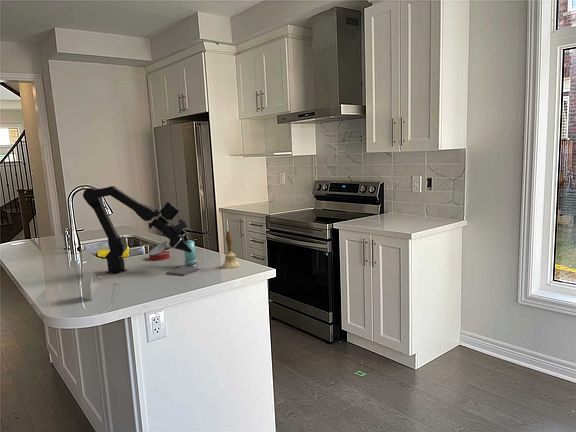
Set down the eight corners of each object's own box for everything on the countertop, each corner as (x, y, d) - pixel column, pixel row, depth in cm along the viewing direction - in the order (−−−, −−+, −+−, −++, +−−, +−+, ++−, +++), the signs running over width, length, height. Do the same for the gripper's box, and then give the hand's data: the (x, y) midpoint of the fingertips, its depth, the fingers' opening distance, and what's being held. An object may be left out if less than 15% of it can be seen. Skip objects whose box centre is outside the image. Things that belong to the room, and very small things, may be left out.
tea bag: (91, 300, 159) (88, 273, 158) (82, 297, 163) (79, 271, 162) (101, 297, 162) (98, 271, 161) (92, 295, 166) (89, 269, 165)
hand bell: (237, 268, 195) (234, 232, 193) (219, 268, 196) (216, 233, 194) (242, 263, 203) (240, 229, 201) (225, 263, 204) (223, 229, 202)
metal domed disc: (191, 268, 200) (191, 263, 200) (180, 267, 203) (180, 262, 203) (200, 264, 206) (200, 260, 205) (190, 263, 209) (189, 259, 208)
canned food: (167, 268, 222) (165, 253, 216) (147, 267, 222) (144, 251, 216) (173, 253, 231) (171, 238, 225) (154, 252, 231) (151, 237, 225)
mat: (183, 275, 187) (183, 273, 187) (166, 273, 192) (165, 272, 192) (199, 269, 196) (199, 268, 196) (181, 268, 200) (181, 266, 200)
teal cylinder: (191, 263, 200) (189, 242, 199) (181, 262, 203) (179, 241, 202) (199, 260, 205) (197, 240, 204) (189, 259, 208) (188, 239, 206)
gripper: (174, 217, 191) (202, 240, 194) (179, 212, 210) (205, 233, 212) (157, 236, 192) (185, 259, 194) (164, 229, 210) (189, 250, 213)
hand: (192, 249), depth 203 cm, fingers open, 9 cm apart
